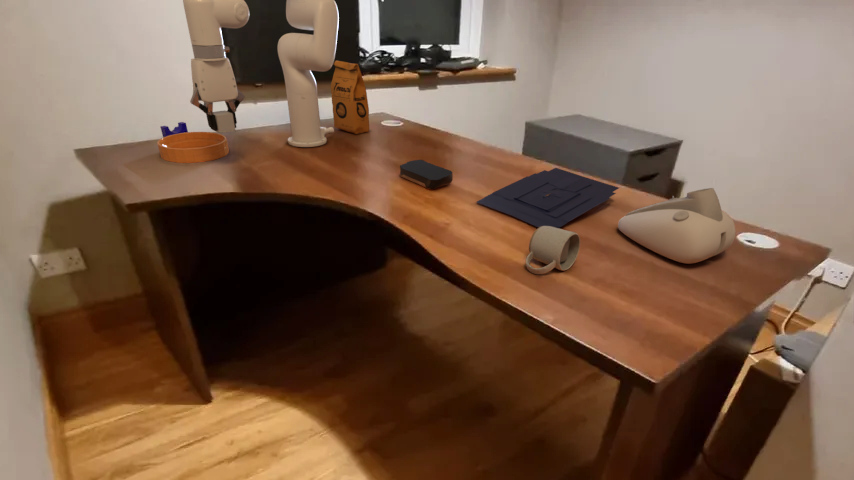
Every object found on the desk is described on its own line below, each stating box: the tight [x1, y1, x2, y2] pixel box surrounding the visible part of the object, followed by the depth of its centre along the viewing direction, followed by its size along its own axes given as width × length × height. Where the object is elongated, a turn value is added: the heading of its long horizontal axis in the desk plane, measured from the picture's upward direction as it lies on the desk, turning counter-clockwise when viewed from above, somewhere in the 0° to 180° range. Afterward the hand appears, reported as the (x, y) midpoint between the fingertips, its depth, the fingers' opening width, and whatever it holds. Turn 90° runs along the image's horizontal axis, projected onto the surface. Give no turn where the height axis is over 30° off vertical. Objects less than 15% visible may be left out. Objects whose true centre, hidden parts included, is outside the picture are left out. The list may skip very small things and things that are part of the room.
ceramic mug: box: [525, 226, 581, 275], centre depth 106 cm, size 11×8×8 cm
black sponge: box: [399, 159, 454, 190], centre depth 148 cm, size 16×8×4 cm, turn 40°
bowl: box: [156, 131, 230, 164], centre depth 161 cm, size 19×19×4 cm
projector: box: [617, 187, 737, 265], centre depth 113 cm, size 22×23×15 cm
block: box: [213, 110, 236, 134], centre depth 144 cm, size 4×4×4 cm
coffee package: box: [330, 60, 370, 135], centre depth 185 cm, size 10×12×22 cm
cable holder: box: [160, 121, 189, 138], centre depth 177 cm, size 8×4×4 cm, turn 147°
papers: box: [476, 167, 620, 229], centre depth 136 cm, size 24×30×4 cm
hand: (223, 127), depth 145 cm, fingers closed on block, 4 cm apart
